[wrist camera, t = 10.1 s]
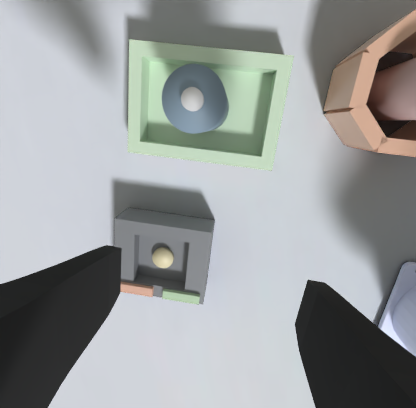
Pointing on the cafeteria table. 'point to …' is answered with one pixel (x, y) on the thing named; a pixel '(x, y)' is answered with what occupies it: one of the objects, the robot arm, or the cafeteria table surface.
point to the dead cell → (394, 93)
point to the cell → (195, 99)
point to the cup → (360, 88)
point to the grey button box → (164, 254)
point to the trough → (237, 97)
